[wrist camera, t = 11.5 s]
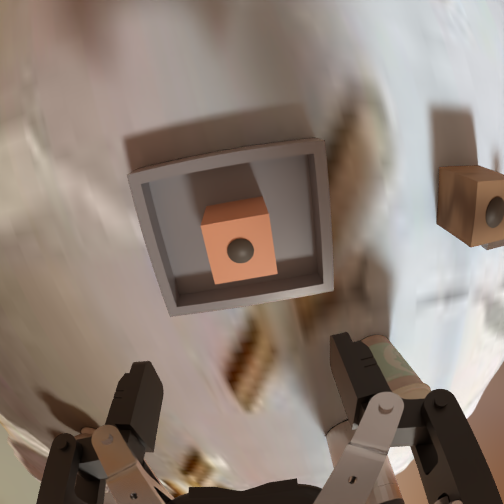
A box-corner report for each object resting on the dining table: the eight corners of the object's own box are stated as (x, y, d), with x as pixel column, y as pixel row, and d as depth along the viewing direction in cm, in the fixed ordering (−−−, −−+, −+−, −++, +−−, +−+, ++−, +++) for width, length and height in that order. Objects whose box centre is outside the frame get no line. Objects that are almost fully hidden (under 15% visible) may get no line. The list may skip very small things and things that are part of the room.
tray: (325, 275, 31) (333, 290, 28) (174, 299, 31) (170, 316, 28) (314, 137, 25) (324, 140, 22) (137, 168, 25) (126, 174, 23)
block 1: (262, 196, 26) (268, 214, 22) (270, 247, 28) (277, 274, 24) (206, 206, 26) (200, 226, 22) (217, 256, 28) (215, 285, 24)
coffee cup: (400, 356, 38) (435, 419, 27) (346, 381, 39) (371, 449, 28) (394, 315, 34) (439, 383, 23) (332, 343, 35) (362, 421, 24)
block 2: (474, 217, 29) (509, 238, 23) (436, 223, 29) (471, 247, 23) (477, 165, 27) (516, 179, 21) (438, 166, 27) (478, 182, 21)
